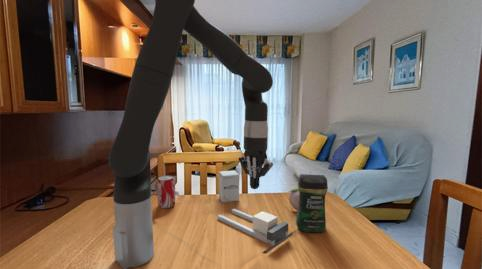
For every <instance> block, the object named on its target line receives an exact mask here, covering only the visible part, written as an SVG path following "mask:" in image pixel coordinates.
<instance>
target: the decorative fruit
mask: <svg viewBox="0 0 482 269" xmlns="http://www.w3.org/2000/svg"><path fill="white" fill-rule="evenodd" d="M288 193H289V195H288V201H289V204H290V206H291V207H292V208H293V209H295V210H296V211H298V205H299V195H300V193H299V189H298V188H292V189H290V190H289V191H288Z"/></svg>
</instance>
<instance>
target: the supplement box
mask: <svg viewBox="0 0 482 269" xmlns="http://www.w3.org/2000/svg"><path fill="white" fill-rule="evenodd" d="M218 188H219V189H218V196H219V199H220V200H221V203H230V202H238V201H240V174H239V173H238V172H237V171H236V170H221V171H218Z"/></svg>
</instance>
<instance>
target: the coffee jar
mask: <svg viewBox="0 0 482 269" xmlns="http://www.w3.org/2000/svg"><path fill="white" fill-rule="evenodd" d="M297 181H298V182H297V189H299V193H300V195H299V205H298V210H297V213H296V219H295V221H296V222H295V224H296V226H297V228H298V230H300V231H301V232H303V233H304V232H305V233H323V232H325V231H326V227H327V224H326V221H327V220H326V204H325V203H326V195H327V192H328V190H329V188H328V179H327V177H326V176H325V175H324V174H305V173H304V174H302V173H301V174H299V176H298V180H297Z"/></svg>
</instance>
